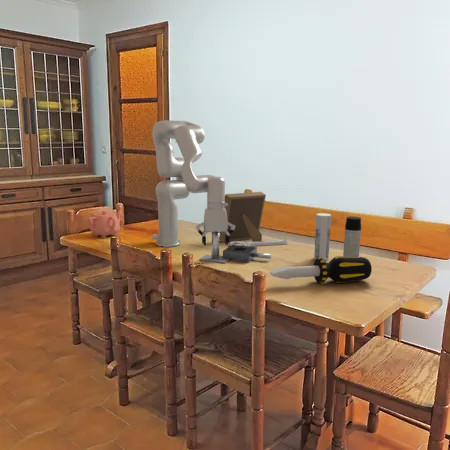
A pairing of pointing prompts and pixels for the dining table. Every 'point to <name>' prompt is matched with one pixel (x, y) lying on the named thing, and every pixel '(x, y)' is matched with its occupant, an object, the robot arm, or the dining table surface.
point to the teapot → (105, 223)
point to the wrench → (259, 243)
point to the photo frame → (244, 216)
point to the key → (215, 245)
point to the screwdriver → (329, 270)
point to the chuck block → (243, 253)
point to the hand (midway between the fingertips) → (215, 244)
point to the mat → (208, 258)
